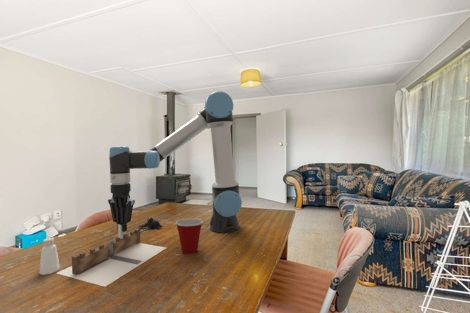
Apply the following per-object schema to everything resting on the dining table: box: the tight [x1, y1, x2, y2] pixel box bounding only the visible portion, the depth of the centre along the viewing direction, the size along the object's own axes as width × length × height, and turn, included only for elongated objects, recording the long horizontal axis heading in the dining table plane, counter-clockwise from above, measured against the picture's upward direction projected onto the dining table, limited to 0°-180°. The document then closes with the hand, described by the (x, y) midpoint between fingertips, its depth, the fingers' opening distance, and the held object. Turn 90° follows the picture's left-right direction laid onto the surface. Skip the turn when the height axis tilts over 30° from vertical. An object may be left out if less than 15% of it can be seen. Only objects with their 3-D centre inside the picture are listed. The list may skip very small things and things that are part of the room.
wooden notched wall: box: [106, 228, 141, 257], centre depth 91 cm, size 15×2×6 cm, turn 159°
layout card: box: [56, 242, 167, 288], centre depth 83 cm, size 22×28×1 cm
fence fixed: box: [71, 244, 109, 275], centre depth 78 cm, size 12×2×6 cm, turn 159°
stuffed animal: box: [137, 216, 163, 234], centre depth 117 cm, size 12×10×12 cm
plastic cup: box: [175, 218, 204, 255], centre depth 90 cm, size 11×11×12 cm
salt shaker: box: [39, 237, 61, 276], centre depth 76 cm, size 5×5×11 cm
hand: (122, 238), depth 96 cm, fingers closed
